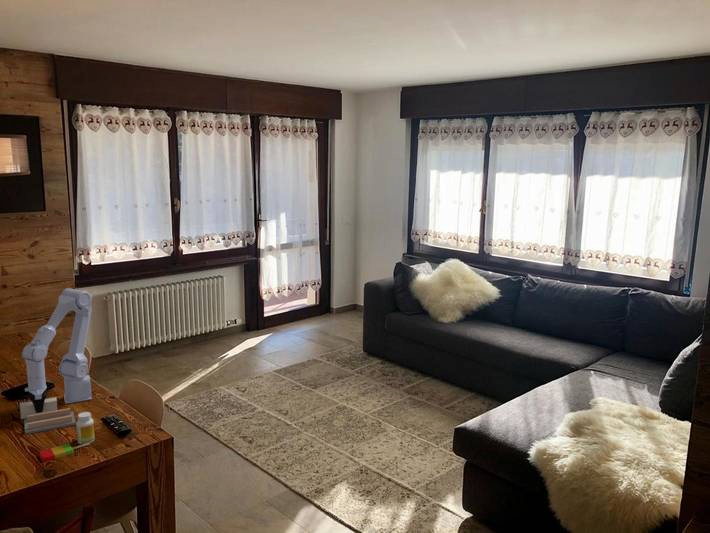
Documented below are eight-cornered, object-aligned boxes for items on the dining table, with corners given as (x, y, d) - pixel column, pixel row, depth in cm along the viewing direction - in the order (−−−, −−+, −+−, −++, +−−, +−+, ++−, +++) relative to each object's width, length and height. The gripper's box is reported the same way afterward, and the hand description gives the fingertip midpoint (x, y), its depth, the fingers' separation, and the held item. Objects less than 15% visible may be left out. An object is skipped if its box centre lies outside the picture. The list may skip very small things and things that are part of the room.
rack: (73, 413, 219) (72, 406, 218) (75, 424, 210) (75, 417, 210) (24, 422, 211) (23, 414, 210) (25, 434, 203) (24, 426, 202)
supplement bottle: (98, 438, 201) (96, 412, 199) (86, 445, 196) (84, 419, 194) (85, 435, 203) (84, 409, 201) (73, 442, 198) (71, 416, 196)
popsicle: (38, 456, 190) (38, 451, 189) (87, 442, 199) (86, 437, 199) (43, 463, 186) (42, 458, 185) (92, 449, 195) (92, 444, 195)
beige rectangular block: (57, 409, 222) (56, 397, 221) (57, 412, 219) (56, 400, 218) (20, 415, 216) (19, 403, 215) (21, 419, 213) (19, 406, 212)
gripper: (23, 370, 219) (26, 404, 222) (24, 384, 207) (27, 420, 209) (44, 367, 222) (47, 401, 225) (46, 381, 210) (49, 416, 213)
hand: (39, 410), depth 217 cm, fingers closed on beige rectangular block, 3 cm apart
